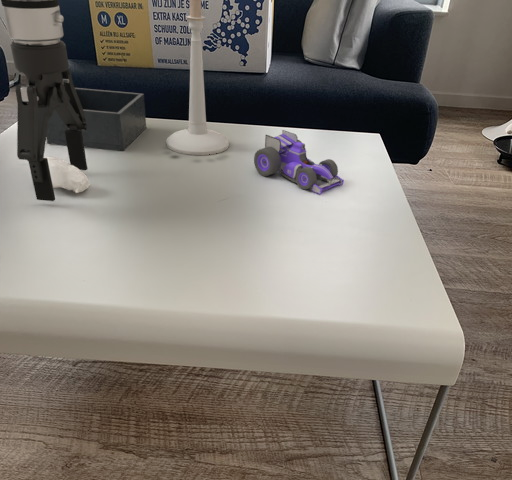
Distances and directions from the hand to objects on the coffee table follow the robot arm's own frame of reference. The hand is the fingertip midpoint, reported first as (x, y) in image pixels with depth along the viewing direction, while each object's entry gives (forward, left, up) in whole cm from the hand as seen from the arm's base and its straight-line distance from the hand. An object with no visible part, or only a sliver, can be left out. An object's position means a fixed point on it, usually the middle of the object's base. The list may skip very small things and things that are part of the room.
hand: (63, 183), depth 91 cm
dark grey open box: (-4, +28, -1) cm, 28 cm away
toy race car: (+39, +15, -1) cm, 42 cm away
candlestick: (+17, +28, -1) cm, 33 cm away
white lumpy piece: (0, 0, -1) cm, 1 cm away
